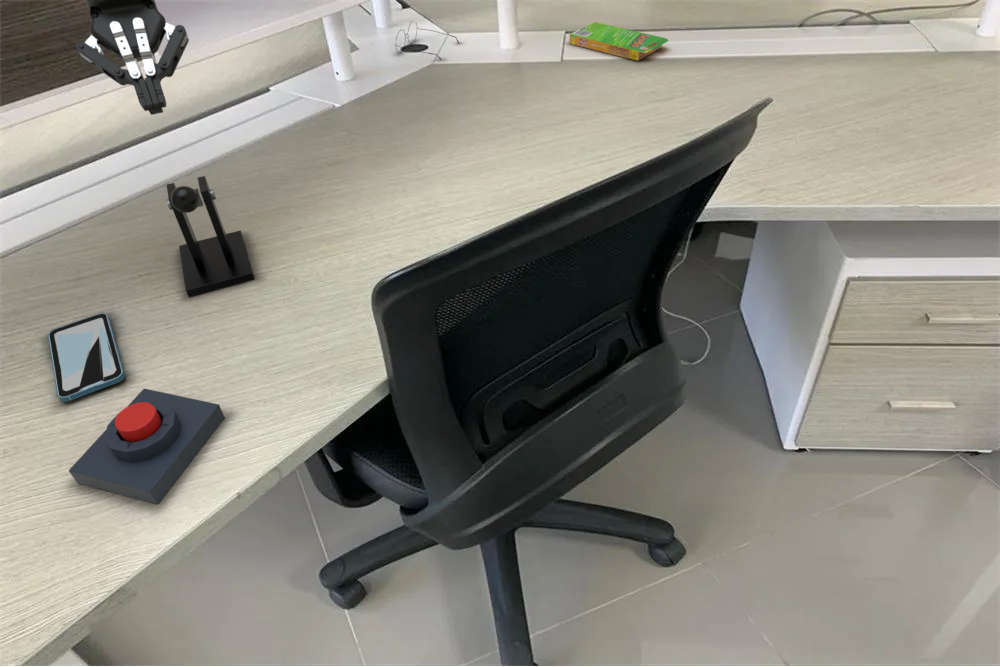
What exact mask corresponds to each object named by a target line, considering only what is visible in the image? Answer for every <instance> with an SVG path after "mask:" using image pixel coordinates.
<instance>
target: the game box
mask: <svg viewBox="0 0 1000 667" xmlns="http://www.w3.org/2000/svg"><path fill="white" fill-rule="evenodd" d="M668 42H669V39H668V38H666V37H663V36H657V35H653V34H649V33H646V32H641V31H637V30H632V29H628V28H623V27H620V26H615V25H610V24H606V23H601V22H597V21H593V22H591V23H589V24H586V26H583V27H581V28H579V29H577V30H575V31H573V32H571V33H569V44H570V45H573V46H578V47H581V48H584V49H585V48H586V49H589V50H593V51H596V52H601V53H605V54H610V55H614V56H617V57H621V58H624V59H630V60H633V61H637V62H639V61H640V60H641V59H644V58H645V57H647V56H648V55H650V54H652V53H654V52H656V51H657V50H659V49H661V48H662V47H663V45H664V44H666V43H668Z"/></svg>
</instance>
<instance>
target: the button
mask: <svg viewBox="0 0 1000 667" xmlns="http://www.w3.org/2000/svg"><path fill="white" fill-rule="evenodd" d="M127 406H128V405H127ZM127 406H125V407H124V408H123V409H122V410H121V411H120V413H119V412H118V413H119V414H118V413H117V414H118V415H117V414H116V416H117V417H116V416H115V417H116V419H115V426H116V428H117V430H118V431H119V433H120V434H121V436H122V438H123V439H124V440H126V441H129V442H136V441H141V440H144V439H146V438H148V437H150V436H151V435H153V434H155V433H156V432H157V430H158V429H159V428H160V426H161V418H160V416H159V415H158V413H157V411H156V409H155V407H154V406H153V405H152V404H150V403H146V402H140V403H135V404H132V405H130V406H128V407H127Z"/></svg>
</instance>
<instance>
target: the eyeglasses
mask: <svg viewBox="0 0 1000 667" xmlns="http://www.w3.org/2000/svg"><path fill="white" fill-rule="evenodd" d="M411 24H412V22H410V23H409V25H408V29H407V31H410V30H409V29H410V26H411ZM415 24H416V26H418V24H417V23H415ZM416 30H420V28H419V27H416ZM422 30H424V31H427V29H426V28H421V31H422ZM401 31H403V33H404V38H405V39H404V42H406V40H407V41H408V43H409V44H411V45H412V44H413V42H415V41H416V39H417V35H418V32H416V34H415V38H414V40H413V42H410V40H409V38H410V35H407V33H406V32H405V30H404V29H400V30H399V31H398V32H397V34H396V36H395V40H397V39H398V35H399V33H400V32H401ZM429 32H435V33H438V34H441V35H446V36H449V37H453V38H455V39H456V42H457V43H458V44H460V41H459V40H458V38H457V36H455V35H452V34H447V33H443V32H439V31H436V30H432V29H429ZM406 35H407V36H406ZM394 45H395V47H397V48H401V49H402V50H401V51H398V49H397V48H395V50H396V53H398V54H401V53H402V52H403V51H404V50H408V51H411V52H415V50H413V49H408V48H406V47H405V46H406V44H404V46H400V45H397V44H394ZM416 52H418V53H421V51H420V50H416ZM422 53H424V54H429V55H434V56H436V57H437V58H438V59H439V60H440V61H441V60H442V58H441V57H440V56H439V55H438V54H437V53H433V52H432V53H431V52H425V51H422Z"/></svg>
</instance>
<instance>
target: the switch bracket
mask: <svg viewBox="0 0 1000 667" xmlns="http://www.w3.org/2000/svg"><path fill="white" fill-rule="evenodd" d="M197 182H198V187H199V188H198V189H199V194H200V196H201V199H202V202H203V204H204V206H205V209H206V211H207V214H208V217H209V219H210V222H211V225H212V227H213V230H214V233H215V235H216V236H212V237H209V238H204V239H199V240H198V239H197V236H196V234H195V232H194V229H193V227H192V225H191V224H192V223H191V221H190V219H189V217H188V214H187V213H183V212H180V211H178V210H176V209H175V208H174V207H173V205H172V203H171V199H170V198H171V193H172V192H173V190H174V189H175V188H177V186H176V184H175V182H171V183H167V184H166V191H167V199H166V203H167V206H168V209H169V210H170V211H173V214H174V217H175V219H176V221H177V225H178V227H179V229H180V231H181V233H182V236H183V238H184V241H185V243H183V244H180V245H178V248H179V255H180V256H179V257H180V261H181V268H182V274H183V275H182V276H183V282H184V289H185V293H186V295H187V297H188V298H192V297H195V296H199V295H202V294H203V295H204V294H207V293H209V292H214V291H218V290H222V289H225V288H228V287H229V288H230V287H232V286H237V285H240V284H244V283H247V282H251V281H254V280H255V279H256V278H255V274H254V272H253V269H252V264H251V261H250V257H249V256H250V255H249V253H248V249H247V246H246V243H245V239H244V236H243V232H242V230H236V231H232V232H229V233H226V229H225V228H224V225H223V222H222V219H221V217H220V214H219V210H218V208H217V205H216V203H215V200H216V199H217V196H216V193H215V191H214V189H213V188H210V186H209V183H208V181H207V178H206V176H205V175H202V176H198V177H197Z"/></svg>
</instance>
